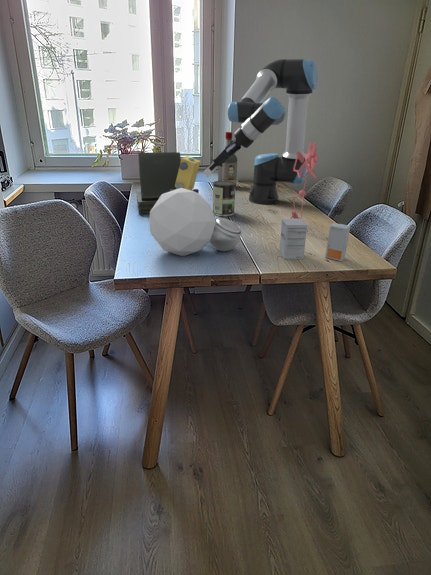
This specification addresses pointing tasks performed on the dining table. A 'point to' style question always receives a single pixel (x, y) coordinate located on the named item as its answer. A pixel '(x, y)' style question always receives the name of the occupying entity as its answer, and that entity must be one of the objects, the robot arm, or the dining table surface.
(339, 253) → the skincare box
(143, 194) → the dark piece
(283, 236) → the supplement box
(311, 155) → the figurine
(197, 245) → the lamp
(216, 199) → the coffee can
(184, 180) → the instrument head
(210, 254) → the dining table surface
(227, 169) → the liquor
